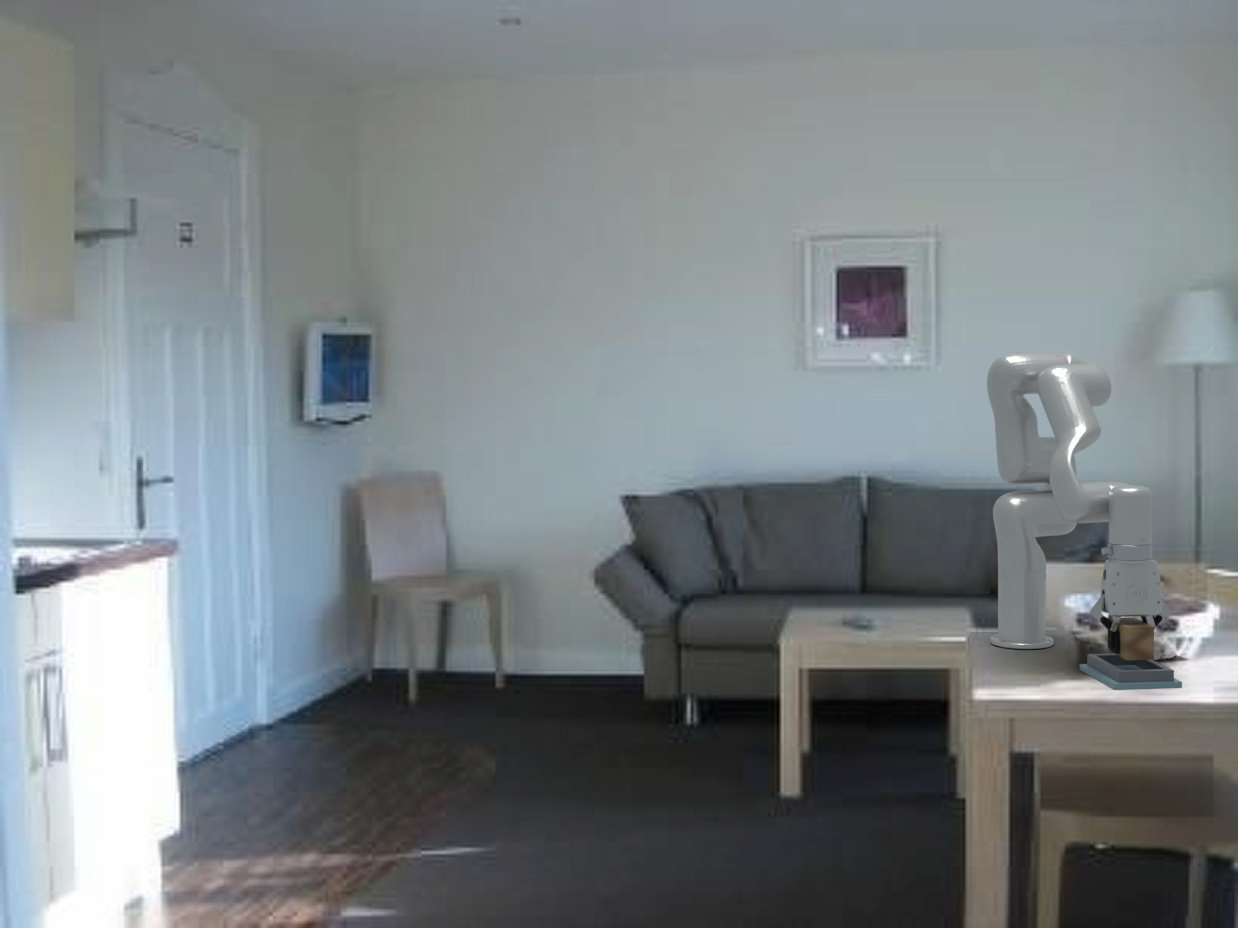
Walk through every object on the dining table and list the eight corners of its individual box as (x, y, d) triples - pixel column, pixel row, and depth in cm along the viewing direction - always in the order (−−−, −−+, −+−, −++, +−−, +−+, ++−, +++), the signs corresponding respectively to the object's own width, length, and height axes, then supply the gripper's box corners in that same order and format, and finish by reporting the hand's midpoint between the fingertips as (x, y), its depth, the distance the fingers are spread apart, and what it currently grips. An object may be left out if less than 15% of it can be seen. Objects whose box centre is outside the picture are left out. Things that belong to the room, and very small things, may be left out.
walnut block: (1126, 660, 270) (1126, 627, 269) (1107, 649, 280) (1107, 618, 279) (1153, 659, 270) (1154, 626, 270) (1134, 649, 280) (1134, 617, 280)
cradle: (1079, 669, 284) (1079, 653, 283) (1143, 667, 284) (1143, 651, 284) (1113, 689, 267) (1114, 672, 266) (1181, 687, 267) (1182, 670, 267)
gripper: (1092, 557, 270) (1092, 656, 271) (1184, 554, 270) (1184, 653, 272) (1077, 551, 277) (1077, 649, 278) (1167, 549, 278) (1167, 646, 279)
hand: (1130, 650), depth 275 cm, fingers closed on walnut block, 5 cm apart
